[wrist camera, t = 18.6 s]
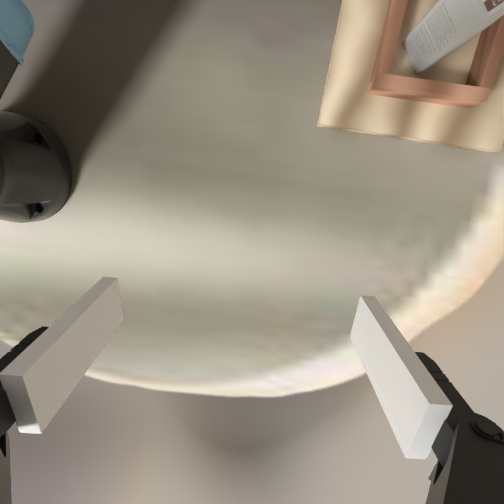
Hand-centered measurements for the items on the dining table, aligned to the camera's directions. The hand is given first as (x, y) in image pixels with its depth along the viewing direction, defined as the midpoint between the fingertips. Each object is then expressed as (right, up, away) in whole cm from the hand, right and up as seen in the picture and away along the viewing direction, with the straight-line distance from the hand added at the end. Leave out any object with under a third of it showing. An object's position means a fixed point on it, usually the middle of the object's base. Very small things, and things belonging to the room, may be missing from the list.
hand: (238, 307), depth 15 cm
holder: (+22, +27, +18) cm, 39 cm away
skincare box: (+21, +27, +17) cm, 38 cm away
